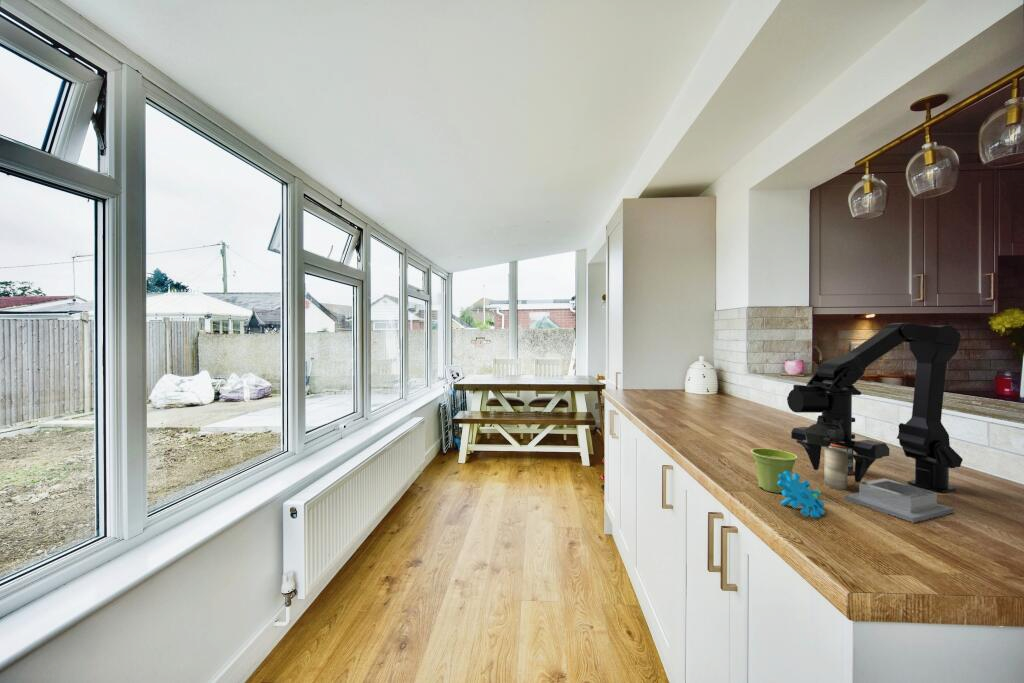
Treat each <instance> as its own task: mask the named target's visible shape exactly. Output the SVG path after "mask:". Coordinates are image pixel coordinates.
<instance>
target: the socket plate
mask: <svg viewBox="0 0 1024 683" xmlns="http://www.w3.org/2000/svg"><path fill="white" fill-rule="evenodd" d="M843 498H844V499H845V500H844V501H847V500H848V501H847V502H850V501H851V502H850V503H853V502H854V504H856V503H857V505H858V504H860V505H859V506H861V505H863V506H862V507H864V506H867V507H870V508H873V509H875V510H874V511H876V510H878V511H877V512H879V511H881V512H880V513H882V512H883V513H882V514H885V513H886V514H885V515H888V514H890V515H892V516H891V517H893V516H896V517H899V518H902V519H905V520H908V521H911V522H916V521H920V520H923V521H925V520H924V519H927V520H930V519H929V518H931V519H934V517H935V518H939V517H942V516H946V514H947V515H951V514H953V513H954V508H953V507H950V506H947V505H943V504H940V503H938V502H937V507H934V508H930V509H926V510H922V511H918V512H913V513H909V512H906V511H903V510H900V509H897V508H894V507H891V506H887V505H884V504H881V503H878V502H875V501H872V500H869V499H866V498H863V497H860V496H859V491H858V492H853V493H849V494H844V497H843ZM867 507H866V508H867ZM870 508H869V509H870ZM873 509H872V510H873ZM950 513H951V514H950ZM890 515H889V516H890ZM896 517H895V518H896ZM899 518H898V519H899ZM902 519H901V520H902ZM905 520H904V521H905ZM908 521H907V522H908ZM911 522H910V523H911ZM920 522H921V521H920ZM916 523H917V522H916Z"/></svg>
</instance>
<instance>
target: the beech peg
mask: <svg viewBox="0 0 1024 683" xmlns="http://www.w3.org/2000/svg"><path fill="white" fill-rule="evenodd" d="M823 457H824V460H823V461H824V467H823V468H824V472H823V473H824V475H823V476H824V478H823V483H824V484H825V485H826V487H827V486H829V487H831V488H830V489H833V488H834V489H835V490H838V489H840V490H839V491H847V490H846V489H848V474H847V471H848V451H846V450H843V449H838V448H825V447H824V456H823ZM824 484H823V485H824ZM825 485H824V486H825ZM829 487H828V488H829ZM834 489H833V490H834Z"/></svg>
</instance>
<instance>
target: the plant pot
mask: <svg viewBox="0 0 1024 683" xmlns="http://www.w3.org/2000/svg"><path fill="white" fill-rule="evenodd" d="M750 452H751V454H752V455H753V456H752V458H753V459H754V463H755V470H756V477H757V478H756V479H757V482H758V484H757V485H758V487H759V488H762V490H764V491H767V492H772V493H774V492H775V494H780V493H782V492H781V491H783V490H784V488H782V487H780V486H778V485H777V482H778V481H779V480H781V479H779V477H778V475H780V474H781V473H783V472H785V471H789V472H791V474H792V475H793V468H794V465H795V463H796V461H797V460H798V456H797V454H795V453H792V452H789V451H784V450H780V449H775V448H765V447H760V448H759V447H758V448H757V447H756V448H751V450H750ZM786 479H787V478H786Z"/></svg>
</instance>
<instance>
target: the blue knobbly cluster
mask: <svg viewBox="0 0 1024 683" xmlns="http://www.w3.org/2000/svg"><path fill="white" fill-rule="evenodd" d="M778 477H779V479H781V480H779V481H778V482H777V485H778V486H780V487H782V488H784V490H783V491H781V492H780V493H781V495H782V497H784V498H785V499H783V500H781V501H780V504H781V505H782V506H783V507H785V506H787V505H789V504H790V506H791V507H792V508H793V509H796V508H798V507H799V506H801V507H802V509H800V514H802V515H803V516H805V517H807V516H809V515H810V517H811V518H813V519H819V518H820V516H822V515H824V514H825V513H826V511H825V510H824V509H823V508H824V507H825V502H824V501H823V500H820V499H819V497H820V494H821V493H822V491H821V490H820V489H819V488H815V489H814V490H811V489H809V488H810V487H811V486H812V484H811V483H810V482H809V481H808V479H807V480H804V481H802V482H801V481H799V480H800V479H801V478H802V477H801V476H800V475H799V474H798V473H796V472H795V473H792V474H791V472H789V471H785V472H783V473H781V474H780V475H778ZM786 478H787V479H786Z"/></svg>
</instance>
